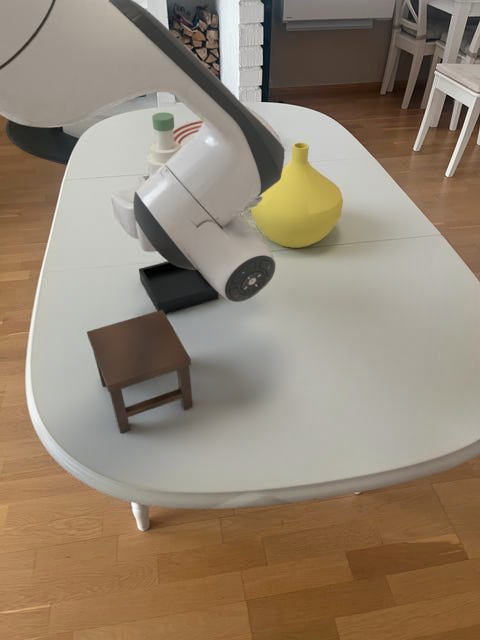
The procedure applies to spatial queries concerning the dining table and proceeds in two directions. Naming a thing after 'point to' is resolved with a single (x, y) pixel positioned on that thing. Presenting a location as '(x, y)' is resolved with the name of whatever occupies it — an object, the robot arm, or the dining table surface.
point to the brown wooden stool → (140, 361)
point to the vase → (298, 204)
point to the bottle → (162, 142)
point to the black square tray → (175, 287)
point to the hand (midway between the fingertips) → (166, 176)
